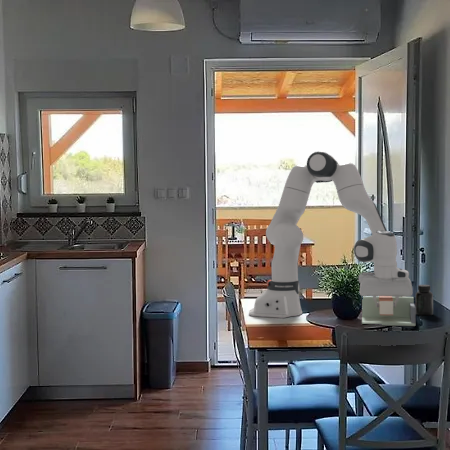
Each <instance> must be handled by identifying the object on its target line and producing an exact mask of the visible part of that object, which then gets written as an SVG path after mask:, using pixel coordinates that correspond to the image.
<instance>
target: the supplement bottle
mask: <svg viewBox="0 0 450 450" xmlns="http://www.w3.org/2000/svg"><path fill="white" fill-rule="evenodd" d="M417 290H418V291H416V293H415V315H417V316H421V317H429V316H432V315H434V294H433V292H432V291H431V285H430V284H418V287H417Z"/></svg>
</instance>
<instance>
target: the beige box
mask: <svg viewBox="0 0 450 450" xmlns="http://www.w3.org/2000/svg"><path fill="white" fill-rule="evenodd" d="M378 297H379V304H380V305H379V306H380V307H379V312H380V315H393V298H392V296H378Z"/></svg>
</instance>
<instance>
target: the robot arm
mask: <svg viewBox="0 0 450 450" xmlns="http://www.w3.org/2000/svg"><path fill="white" fill-rule="evenodd" d="M330 182H333V184H334V185H335V190H336V192H337V197H338V200H339V202H340V205H341V206H342V207H343V208H344V209H346V210H347V211H349V212H352V213H355V214H357V215H360V216H361V217H363V218H364V220H366V223H367V225H368V228H369V229H370V232H371V235H369V236H367V237H364V238H362V239H358V240H357V241H356V242H355V244H354V246H353V254H354V256H355V258H356V259H357V261H359V262H360V263H373V271H370V272H365V271H364V272H362V273H360V274H359V275H358V283H359V284H360V285H359V295H360V296H361V297H362V296H373V300H374V302H375V303H376V307H380V306H379V305H380V304H379V302H377V301H376V297H379V296H395V298H396V300H395V302H393V307H396V303H397V302H398V300H399V296H407V297H412V295H413V286H412V285H413V283H412V281H411V279H410V278H409V276H410V272H409V271H408V270H406V269H404V268H403V269H402V268H401V267H398V263H397V255H398V247H397V238H396V235H395V234H394V232H392V231H389V230H387V227H386V226H385V222H384V220H383V218H382V216H381V214H380V212H379V210H378V207H377V205H376V204H375V203H374V201H373V200H372V199H371V198H370V196H369V195H368V192H367V190H366V188H365V186H364V182H363V180H362V176H361V174H360V172H359V170H358V168H357V166H356V165H355V164H354V163H351V162H343V163H338V161H337V159H335V158H334V157H333V156H332V155H330V154H329V153H327V152H326V151H321V150H318V151H314V152H313V153H311V154H310V155H309V156H308V158H307V160H306V164H305V165H304V164H296V165H294V166H293V167H292V168H291V169H290V171H289V173H288V176H287V179H286V181H285V183H284V187H283V190H282V194H281V196H280V200H279V203H278V206H277V208H276V210H275V212H274V215H273V217H272V218H271V220H270V221H271V222H270V223H269V225H268V226H267V227H266V230H265V237H266V239H267V240H268V241H269V243H270V244H271V245H273V246H274V251H273V258H272V260H271V263H270V264H271V279H267V282H266V288H267V289H266V290H264V291H263V292H262V293H261V294H260V295H258V296H257V297H256V299H255V301H254V306H253V308H251V309H250V310H249V311H248V315H249V316H251V317H264V318H280V319H281V318H282V319H286V318H289V317H295V316H300V315H302V314H303V311H302V306H301V301H300V295H299V294H300V280H299V266H298V265H299V255H300V250H301V245H302V242H303V241H304V233H303V231H302V229H301V228H300V227H299V226H298V225H297V224H298V222H299V221H300V218H301V217H302V215H303V214H305V210H306V208H307V204H308V201H309V197H310V194H311V190H312V187H313V185H314V184H315V183H317V184H319V183H320V184H321V183H330Z"/></svg>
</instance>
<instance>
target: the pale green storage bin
mask: <svg viewBox="0 0 450 450" xmlns="http://www.w3.org/2000/svg"><path fill="white" fill-rule="evenodd" d="M392 298H393V302H395V300H396V298H395V297H392ZM414 299H415V298H414V296H407V297H399V300H398V302H397V303H396V307H393V315H380V312H379V307H376V303H375V302H374V300H373V296H363V300H362V299H361V313H362V314H361V316H362V317H361V325H362V324H382V325H381V326H392V327H393V326H394V327H395V326H399V327H402V326H403V327H415V326H416V320H417V319H416V304H415V303H414V301H415V300H414ZM376 301H377V302H379V296H376Z"/></svg>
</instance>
